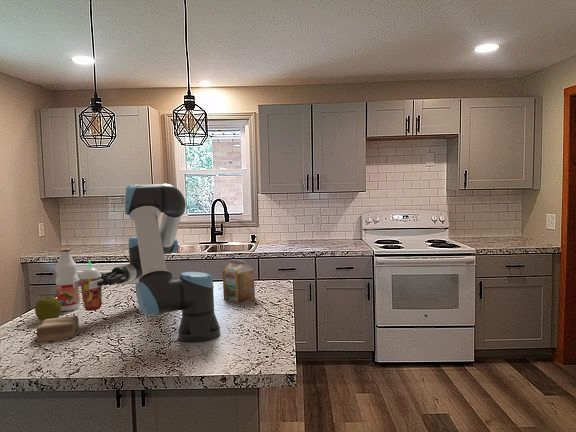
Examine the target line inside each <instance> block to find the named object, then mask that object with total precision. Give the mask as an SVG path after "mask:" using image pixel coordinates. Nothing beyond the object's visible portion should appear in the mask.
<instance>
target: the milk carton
mask: <svg viewBox="0 0 576 432" xmlns="http://www.w3.org/2000/svg"><path fill="white" fill-rule="evenodd" d="M222 288H223V289H222V290H223V300H224V301H227V302H230V303H235V304H241V303H245V302H249V301H251V300H255V299H256V292H255V291H256V290H255V289H256V287H255V269H254V268H253V267H252V266H250V265H249V264H246V261H245V260H241V259H240V260H239V259H234V258H230V262H229V263H228V264H226V266H225V267H224V268H223V270H222Z"/></svg>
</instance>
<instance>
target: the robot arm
mask: <svg viewBox="0 0 576 432" xmlns="http://www.w3.org/2000/svg"><path fill="white" fill-rule="evenodd" d="M124 197H125V198H124V214H125V215H127V216H129V219H130V220H131V221H132V222H134V225H135V232H136V233H135V234H136V235H135V236H131V237H129V238H128V247H127V248H128V257H129V258H128V259H129V263H128V264H124V265H120V266H115V267H114V268H112V270H111V271H110V272H107V273H104V272H103V273H101V272H100V274H101V275H102V276H101V277H102V279H100V280H96V281H93V282H89V289H94V288H97V287H101V286H102V287H104V286H113V285H115V284H116V285H120V284H124V283H130V281H133V280H138V282H137V283H136V284H135V286H134V287H135V294H136V299H137V304H138V307H139V309H140V311H141V313H142V314H143V315H145V316H150V315H151V316H153V315H155V316H157V315H160V314H166V313H171V312H179V311H181V315H182V316H181V319H180V320H181V321H180V322H179V323H180V324H179V327H178V331H177V333H178V335H177V336H178V339H179V340H181V342H186V343H187V342H188V343H200V342H206V341H210V340H213V339H215V338H217V337H219V336H220V334H221V327H220V323H219V321H218V319H217V317H216V314H215V296H214V288H215V287H214V282H213V281H214V280H213V277H212V275H211V274H209V273H205V272H200V271H185V272H181V273H180V274H179V277H174V278H173V274H172V272H171V271H169V270H168V269H167V264H166V259H165V255H170V254H171V255H172V254H176V253H177V252H178V251H179V242H178V239H177V238H176V237H177V233H178V228H179V224H180V221H181V217H182V216H183V215H184V213H185V212H186V207H187V202H186V199H185V197H184V195H183V193H182V192H181V190H179V188H177V187H175V185H172V184H170V183H155V184H154V183H153V184H151V183H149V184H148V183H147V184H138V183H136V184H130V185H127V187H125V195H124ZM161 213H162V214H161ZM161 215H162V216H161ZM160 217H161V223H160V225H159V220H158V219H159V218H160ZM77 287H79V288H81V283H80V279H78V280H76V281H73V288H77Z"/></svg>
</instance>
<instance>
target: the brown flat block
mask: <svg viewBox="0 0 576 432" xmlns="http://www.w3.org/2000/svg"><path fill="white" fill-rule="evenodd" d="M79 327H80V325H79V315H70V316H63V317H58V318H52V319H44V320H43V321H41V323H40V324H39V325H38V326H37V327H36V337H37V339H36V340H37V343H42V342H41V341H43V342H49V341H48V340H51V341H57V340H58V339H60V340H66V339H65V338H68V339H74V338H75V336H76V334H77V332H78V330H79V329H80V328H79Z"/></svg>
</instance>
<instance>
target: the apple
mask: <svg viewBox="0 0 576 432" xmlns="http://www.w3.org/2000/svg"><path fill="white" fill-rule="evenodd" d="M34 312H35V316H36V317H37V319H38V321H41V322H43V320H44V319H52V318H60V314H61V312H62V311H61V304H60V302H59V300H58V299H57V297H54V296H49V297H48V296H46V297H43V298H42V297H41V298H40V299H38V301H37V302H36V304H35V306H34Z"/></svg>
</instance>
